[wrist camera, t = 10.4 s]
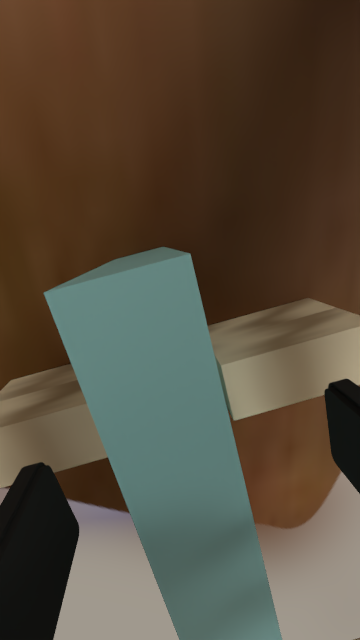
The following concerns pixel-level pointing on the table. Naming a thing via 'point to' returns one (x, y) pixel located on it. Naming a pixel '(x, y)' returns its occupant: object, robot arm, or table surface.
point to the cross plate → (169, 438)
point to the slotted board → (234, 370)
